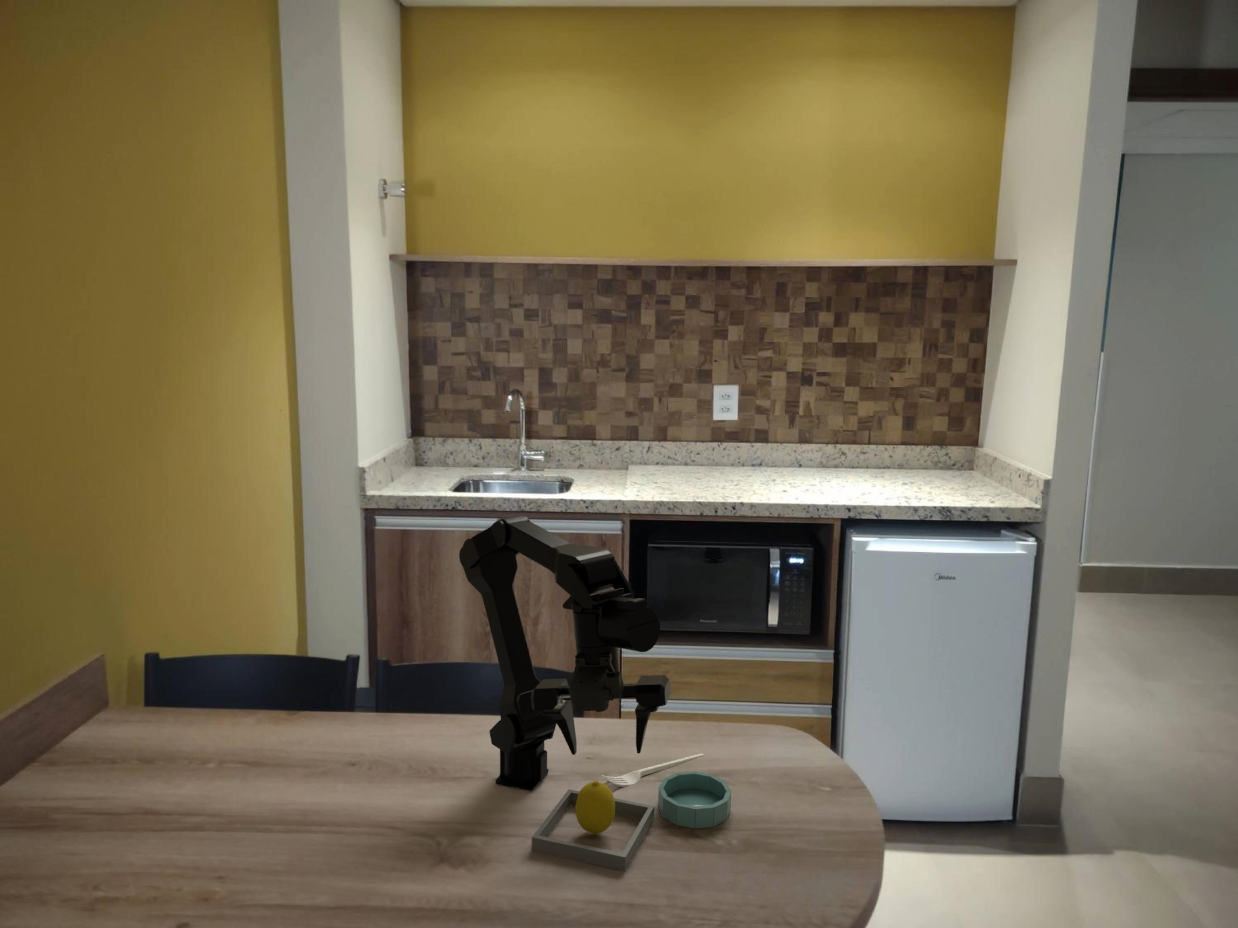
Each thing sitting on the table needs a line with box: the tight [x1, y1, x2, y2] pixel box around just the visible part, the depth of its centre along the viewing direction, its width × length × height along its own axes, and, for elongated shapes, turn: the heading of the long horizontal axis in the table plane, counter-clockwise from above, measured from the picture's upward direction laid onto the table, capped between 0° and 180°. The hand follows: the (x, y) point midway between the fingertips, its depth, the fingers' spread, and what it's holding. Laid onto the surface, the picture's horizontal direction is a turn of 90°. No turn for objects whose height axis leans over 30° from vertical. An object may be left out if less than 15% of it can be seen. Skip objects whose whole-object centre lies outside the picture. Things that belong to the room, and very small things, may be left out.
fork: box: [600, 753, 705, 788], centre depth 148 cm, size 3×20×2 cm, turn 124°
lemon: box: [575, 780, 616, 836], centre depth 129 cm, size 6×6×8 cm
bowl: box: [657, 771, 732, 829], centre depth 137 cm, size 10×10×3 cm
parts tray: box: [531, 789, 655, 872], centre depth 130 cm, size 13×13×2 cm
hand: (606, 752), depth 128 cm, fingers open, 9 cm apart
